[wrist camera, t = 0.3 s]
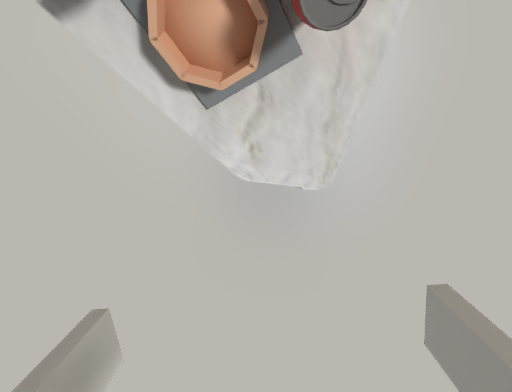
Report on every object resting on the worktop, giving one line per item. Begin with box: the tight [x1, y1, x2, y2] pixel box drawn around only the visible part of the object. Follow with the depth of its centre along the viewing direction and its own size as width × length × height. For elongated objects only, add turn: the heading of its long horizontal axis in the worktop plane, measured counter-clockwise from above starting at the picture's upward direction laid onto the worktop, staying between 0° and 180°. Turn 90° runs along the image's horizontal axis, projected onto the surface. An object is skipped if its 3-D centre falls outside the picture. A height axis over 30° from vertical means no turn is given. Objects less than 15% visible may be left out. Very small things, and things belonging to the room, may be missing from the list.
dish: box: [147, 0, 269, 90], centre depth 31 cm, size 13×13×4 cm
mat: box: [122, 0, 302, 109], centre depth 32 cm, size 18×16×1 cm
